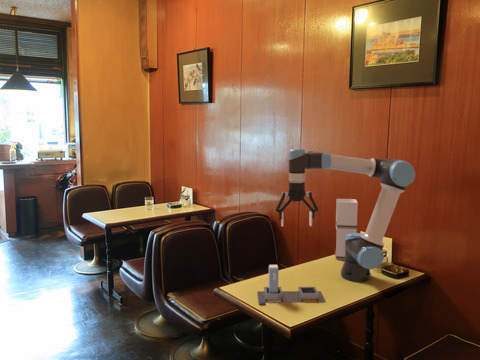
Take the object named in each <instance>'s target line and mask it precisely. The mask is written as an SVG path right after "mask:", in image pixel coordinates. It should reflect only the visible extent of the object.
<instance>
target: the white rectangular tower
mask: <svg viewBox="0 0 480 360" xmlns="http://www.w3.org/2000/svg"><path fill="white" fill-rule="evenodd" d="M335 203H336V204H335V205H336V206H335V207H336V209H335V211H336V212H335V230H336V239H335V241H336V244H335V245H336V246H335V247H336V248H335V251H334V257H335V260H336V259H339V261H345V238H346V235H347V234H349V233H358V208H359V206H358V204H359V202H358V201H357V199H356V198H355V199H353V198H336V201H335Z"/></svg>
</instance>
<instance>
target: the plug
mask: <svg viewBox="0 0 480 360" xmlns="http://www.w3.org/2000/svg"><path fill="white" fill-rule="evenodd" d="M268 287H269V293H278V287H279V266H278V264H269V265H268Z"/></svg>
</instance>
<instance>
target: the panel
mask: <svg viewBox="0 0 480 360" xmlns="http://www.w3.org/2000/svg"><path fill="white" fill-rule="evenodd" d="M257 301H258V302H257V303H258V305H260V306H263V305H264V306H265V305H267V303H268V304H271V303H272V304H275V303H277V304H278V303H283V304H284V303H286V304H288V303H292V304H293V303H303V304H304V303H327V301H326V299H325V297H324V295H323V293H322V290H321V291H320V290H318V289H317V287H316V286H297V290H290V291H287V290H283V289H282V286H278V293H269V286H264V287H263V290H262V291H260V290H259V291H257Z"/></svg>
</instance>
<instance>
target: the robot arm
mask: <svg viewBox="0 0 480 360" xmlns="http://www.w3.org/2000/svg"><path fill="white" fill-rule="evenodd" d="M325 169H327V170H334V171H341V172H348V173H354V174H355V173H356V174H361V175H362V174H363V175H367V176H368V177H371V178H375V179H378V180H381V181H380V183H379V184H380V186H381V190H380V192H379V195H378V198H377V201H376V203H375V206H374V208H373V211H372V214H371V216H370V219H369V221H368V224H367V227H366V229H365V232H364V233H361V232H357V233H349V234H347V235H346V238H345V260H343V264H342V267H341V268H340V269H341V270H340V276H341V277H342V278H343V279H344V280H347V281H352V282H366V281H370V280H371V278H372V277H371V276H372V274H371V270H373V269H374V270H375V269H376V268H379V267H380V266H381V265H382V263H383V262H384V252H383V250H384V247H385V243H384V237H385V234H386V232H387V230H388V226H389V224H390V222H391V218H392V217H393V213H394V210H395V208H396V205H397V203H398V201H399V198H400V196H401V194H402V193H405V191H406V189H407V186H409V185H411V184H412V183H413V182H414V180H415V177H416V170H415V168H414V166H413V165H412V164H411V163H410V162H407V161H405V160H402V159H394V158H373V157H371V158H370V159H369V158H368V159H367V158H360V157H354V156H353V157H352V156H345V155H340V154H332V153H329V152H318V151H314V150H313V151H312V150H308V151H306V150H305V149H304V148H291V149H290V150H289V152H288V181H289V182H288V191H287V192H285V191H282V192H281V197H280V199H279V200H278V203H277V205H276V206H275V208H274V210H275V212H277V213H278V219H279V220H281V221H280V222H281V223H280V226H281V227H283V228H284V214H285V213H284V212H283V211H284V210H285V209H286V208H287V207H288V206H289V204H291V203H292V202H301V201H302V203H304V204H305V205H306V207H307V208H308V209H309V219H308V220H309V226H310V227H313V220H314V219H315V213H316V212H318V211H319V208H318V206H317V204H316V202H315V200H314V198H313V194H312V192H311V190H309V191H306V189H305V188H306V186H305V185H306V183H305V181H306V170H325ZM287 196H288V199H287V200H286V201H285V203H284V204H283V202H284V200H285V198H287ZM306 196H307V197H308V198H309V201H310V202H311V205H312V206H311V205H310V203H309V202H308V201H307V200H306V199H305V197H306ZM282 204H283V205H282Z"/></svg>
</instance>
